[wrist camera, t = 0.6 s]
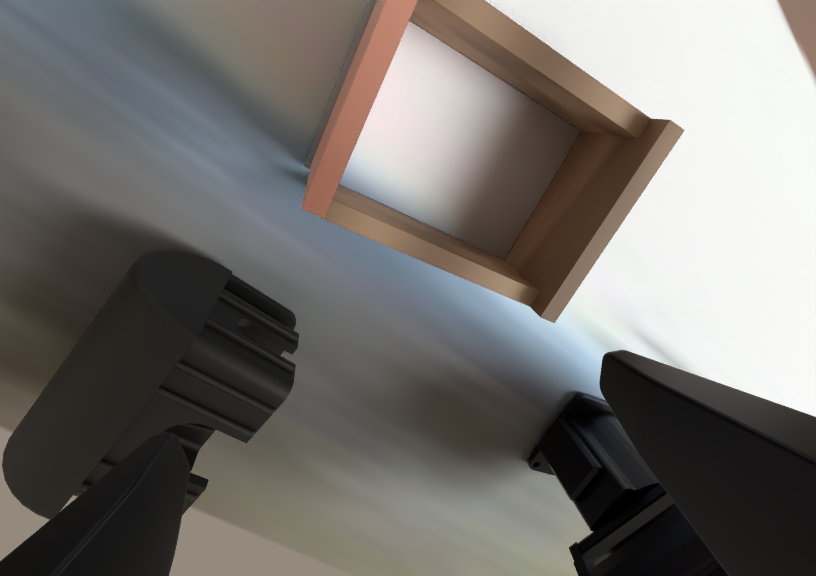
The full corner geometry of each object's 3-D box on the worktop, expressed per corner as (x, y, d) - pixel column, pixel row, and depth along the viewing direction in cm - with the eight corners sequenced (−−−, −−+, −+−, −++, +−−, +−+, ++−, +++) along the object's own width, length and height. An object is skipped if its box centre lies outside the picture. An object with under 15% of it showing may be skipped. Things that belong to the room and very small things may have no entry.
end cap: (174, 225, 18) (100, 287, 12) (306, 309, 21) (299, 393, 15) (64, 377, 20) (-46, 495, 14) (198, 436, 23) (154, 555, 17)
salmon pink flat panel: (388, 12, 16) (445, -64, 9) (322, 172, 18) (320, 225, 11) (369, 0, 16) (409, -91, 8) (304, 163, 18) (288, 211, 10)
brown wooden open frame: (603, 123, 20) (684, 130, 15) (508, 278, 22) (554, 322, 18) (406, -9, 16) (438, -49, 12) (321, 195, 19) (320, 225, 14)
